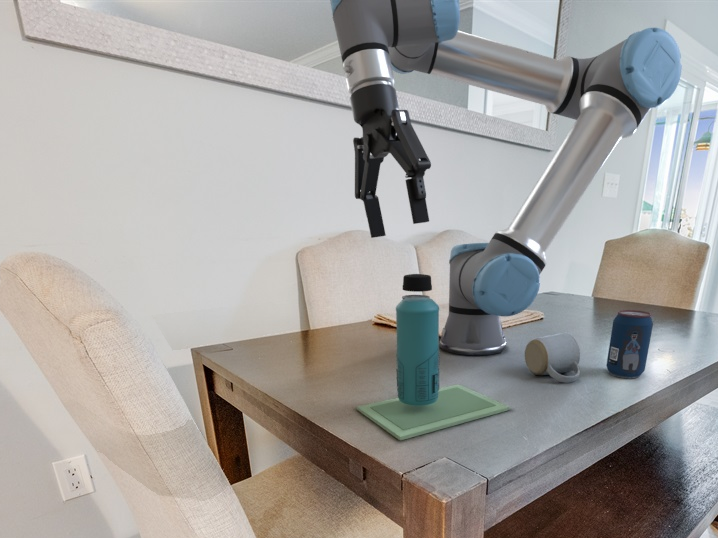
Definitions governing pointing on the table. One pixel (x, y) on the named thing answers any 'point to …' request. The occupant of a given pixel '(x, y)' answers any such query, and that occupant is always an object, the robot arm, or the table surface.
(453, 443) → the table surface
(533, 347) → the ceramic mug
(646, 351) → the soda can
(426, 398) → the beverage bottle
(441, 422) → the scrub mat
